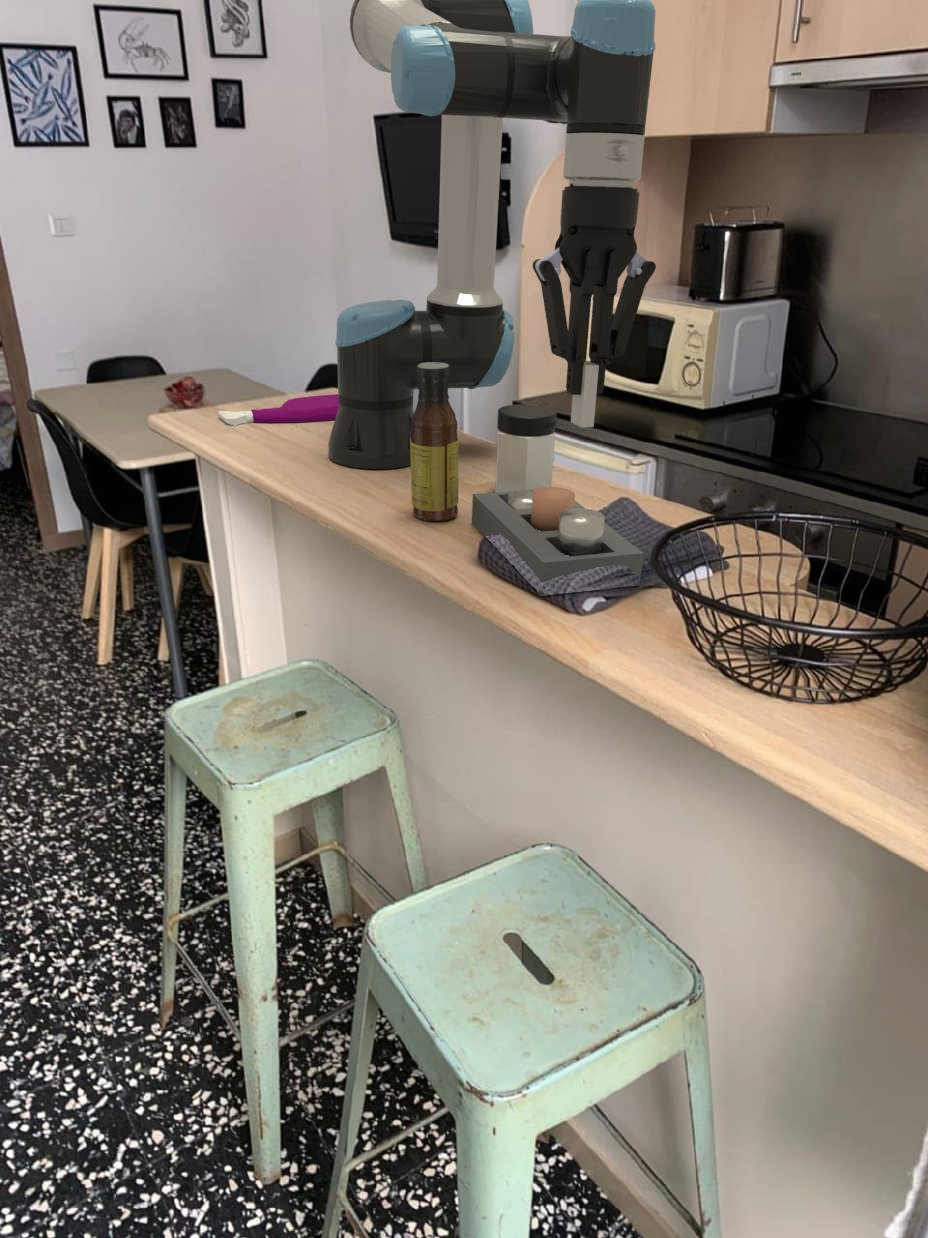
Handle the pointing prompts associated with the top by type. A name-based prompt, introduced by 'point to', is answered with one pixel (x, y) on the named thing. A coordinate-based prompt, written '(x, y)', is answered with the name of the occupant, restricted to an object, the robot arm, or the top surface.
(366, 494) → the top surface
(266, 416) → the spray bottle
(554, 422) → the jar
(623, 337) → the robot arm
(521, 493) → the knob
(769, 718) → the top surface
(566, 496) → the middle knob
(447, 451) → the sauce bottle
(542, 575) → the knob mount
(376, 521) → the top surface
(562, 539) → the knob
